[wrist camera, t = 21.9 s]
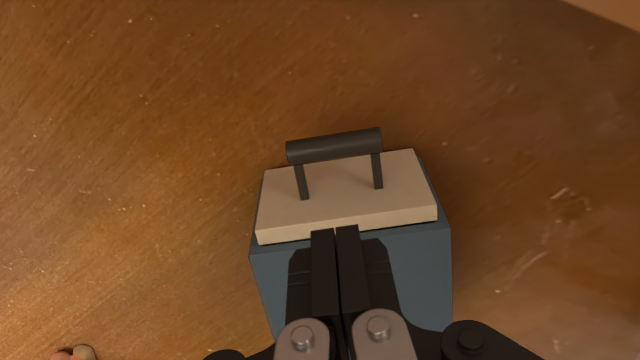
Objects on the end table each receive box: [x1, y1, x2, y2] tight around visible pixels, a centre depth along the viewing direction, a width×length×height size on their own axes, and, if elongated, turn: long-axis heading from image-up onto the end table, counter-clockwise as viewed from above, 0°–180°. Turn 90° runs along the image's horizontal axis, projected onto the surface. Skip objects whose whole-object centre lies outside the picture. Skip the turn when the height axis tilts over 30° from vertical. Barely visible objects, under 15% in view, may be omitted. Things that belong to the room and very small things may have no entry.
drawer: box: [255, 127, 437, 245], centre depth 35 cm, size 18×11×8 cm, turn 9°
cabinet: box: [248, 156, 453, 360], centre depth 37 cm, size 15×13×10 cm
